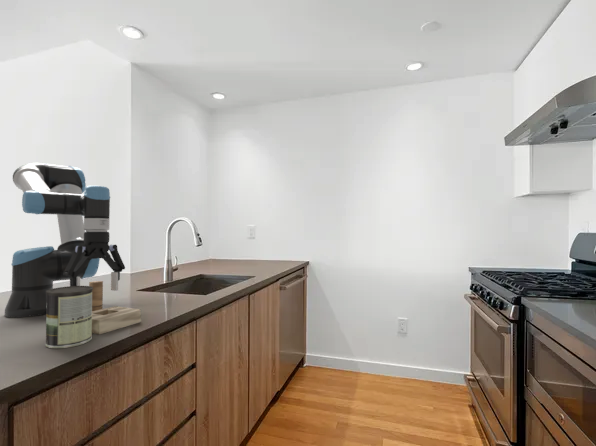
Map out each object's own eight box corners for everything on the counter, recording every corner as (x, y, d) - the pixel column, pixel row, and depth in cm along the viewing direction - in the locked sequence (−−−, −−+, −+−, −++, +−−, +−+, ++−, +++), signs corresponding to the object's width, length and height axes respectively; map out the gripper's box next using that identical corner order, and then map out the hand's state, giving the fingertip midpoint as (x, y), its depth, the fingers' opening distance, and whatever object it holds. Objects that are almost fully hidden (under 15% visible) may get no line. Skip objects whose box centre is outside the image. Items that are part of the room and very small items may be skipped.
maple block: (72, 329, 99) (72, 315, 100) (115, 317, 112) (115, 306, 112) (99, 334, 95) (99, 320, 95) (140, 322, 107) (140, 309, 107)
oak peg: (85, 318, 112) (86, 282, 113) (97, 315, 116) (97, 280, 116) (93, 319, 111) (94, 283, 111) (105, 316, 114) (105, 281, 115)
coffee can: (35, 349, 83) (36, 292, 83) (61, 336, 93) (62, 285, 93) (78, 348, 84) (79, 292, 84) (99, 335, 94) (100, 285, 94)
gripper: (65, 230, 101) (64, 301, 100) (135, 231, 124) (135, 288, 123) (50, 231, 104) (49, 299, 103) (121, 231, 127) (121, 287, 126)
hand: (96, 293), depth 113 cm, fingers open, 13 cm apart
